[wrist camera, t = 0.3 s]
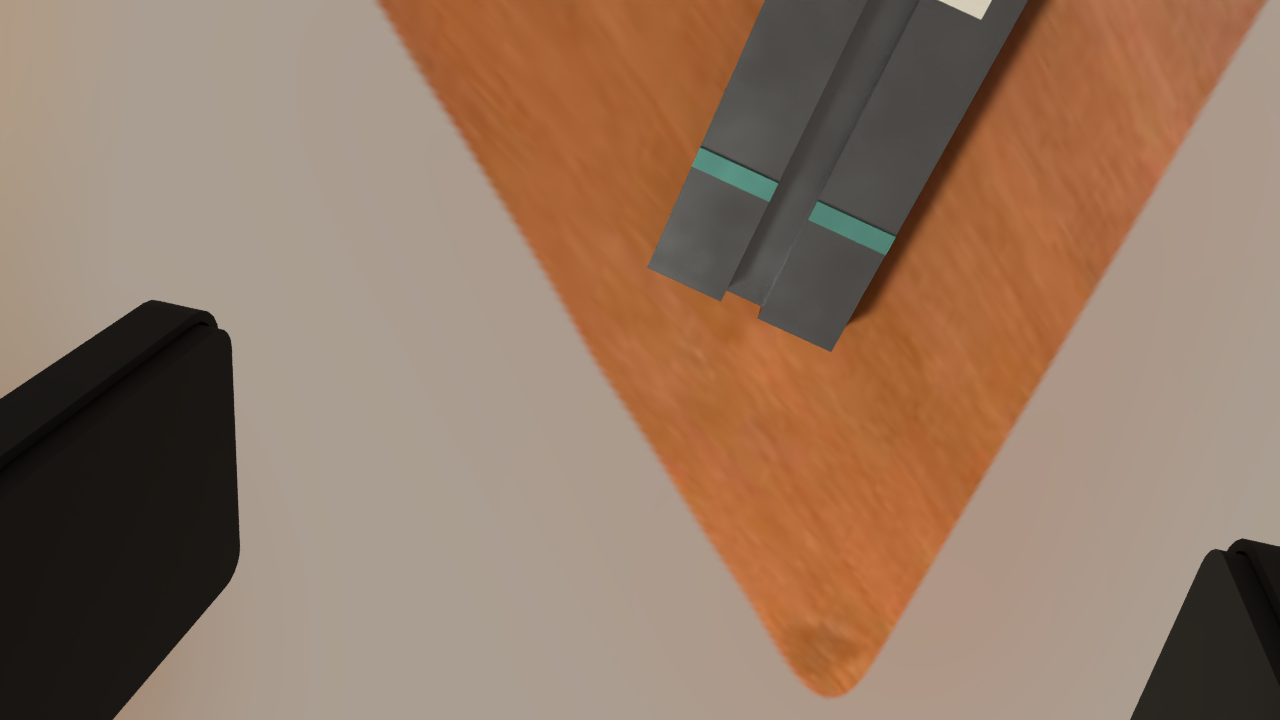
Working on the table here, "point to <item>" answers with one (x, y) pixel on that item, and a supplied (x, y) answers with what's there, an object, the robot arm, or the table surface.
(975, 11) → the fader tab
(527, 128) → the table surface
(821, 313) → the fader housing
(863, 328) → the table surface
